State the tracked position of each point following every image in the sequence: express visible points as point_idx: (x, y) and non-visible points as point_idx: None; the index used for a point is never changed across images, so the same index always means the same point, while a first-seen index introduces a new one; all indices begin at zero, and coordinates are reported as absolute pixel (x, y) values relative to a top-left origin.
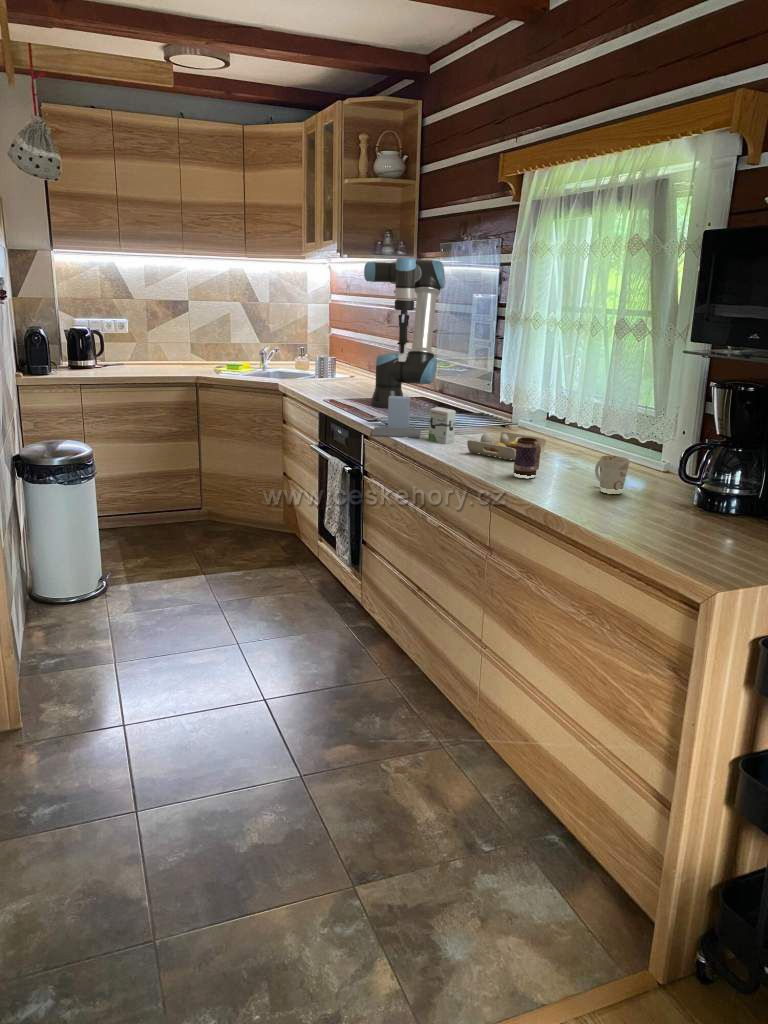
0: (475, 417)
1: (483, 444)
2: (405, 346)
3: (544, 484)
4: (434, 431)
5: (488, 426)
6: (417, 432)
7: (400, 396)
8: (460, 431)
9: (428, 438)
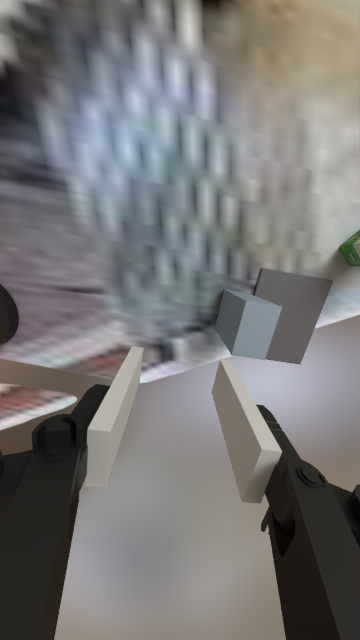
0: (86, 74)
1: None
2: (271, 437)
3: None
4: None
5: (217, 62)
6: (292, 279)
7: (242, 327)
8: (275, 171)
9: (355, 265)
